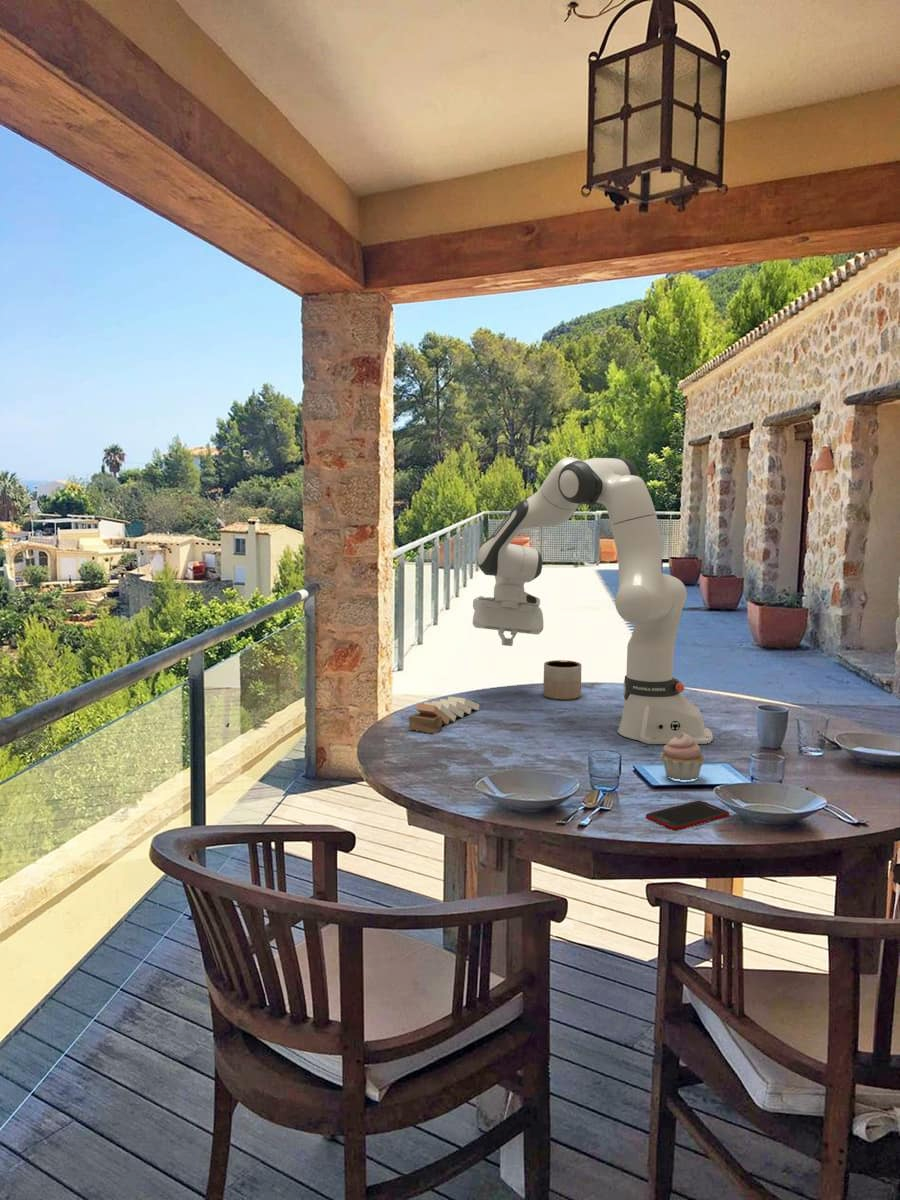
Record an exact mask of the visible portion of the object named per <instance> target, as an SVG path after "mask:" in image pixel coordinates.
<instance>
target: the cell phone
mask: <svg viewBox="0 0 900 1200" xmlns="http://www.w3.org/2000/svg"><path fill="white" fill-rule="evenodd" d="M727 817H730V812H729V810H725V809H724V808H721V807H718V806H716V805H713V804H710V803H708V802H706V801H703V800H695V801H691V802H687V803H684V804H683V803H682V804H679V805H675V806H671V807H668V808H667V807H666V808H664V809H663V808H662V809H659V810H655V811H652V812H649V813H646V814H645V819H646V818H647V820H648V819H649V820H648V821H650V820H651V821H652V822H653V821H654V822H653V823H655V822H658V823H657V824H659V823H660V824H659V825H660V826H662V825H663V826H662V827H664V826H665V827H664V828H666V827H667V828H670V829H669V830H671V829H672V830H671V831H679V830H678V829H681V830H683V828H684V829H687V828H686V827H688V828H690V827H689V826H692V827H694V826H693V825H695V826H698V825H697V824H699V825H701V824H700V823H703V824H705V823H704V822H706V823H708V821H709V822H713V820H714V821H717V820H721V819H724V818H727Z"/></svg>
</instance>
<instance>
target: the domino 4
mask: <svg viewBox="0 0 900 1200" xmlns="http://www.w3.org/2000/svg"><path fill="white" fill-rule="evenodd" d="M439 702H444V703H450V704H452V705H453V706H455V707H457V708H458V709H460V710H462V711H463V712H464V713H465V714H464V715H471V713H472V708H470V707H468V706H466V705H464V704H462V703H460V702H458V701H454V700H448V698H447V699H445V698H439Z"/></svg>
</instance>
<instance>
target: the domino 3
mask: <svg viewBox="0 0 900 1200" xmlns="http://www.w3.org/2000/svg"><path fill="white" fill-rule="evenodd" d="M431 703H438V704H443V705H444V706H445V707H446V708H447V709H448V710H450V711H451V712H452V713H453V714H454V715H456V718H460V717H461V718H462V719H463V718H464V715H465V714H464V712H463V711H462V710H460V709H458V708H457V707H455V706H453V705H452V704H450V703H444V702H440V701H437V700H432V702H431Z"/></svg>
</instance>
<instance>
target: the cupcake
mask: <svg viewBox="0 0 900 1200" xmlns="http://www.w3.org/2000/svg"><path fill="white" fill-rule="evenodd" d="M662 750H663V751H661V752H660V754H661V755H659V757H660V759H661V761H662V763H663V767H664V770H665V771H664V772H665V776H666V775H667V776H668V777H670V778H674V779H680V780H691V779H696V778H698V779H699V775H700V773H701V768H702V767H703V765H704V763H705V761H706V755H703V754H702V749H701V747H700V745H699V744H696V743H695V741H694V740H693V738H692V737H691V736H689V735H687V734H685V733H684V732H681V734H680V736H679V737H675V738H672V739H671V740H670V741H669V743H668V744H664V746H663V748H662ZM667 776H666V777H667Z"/></svg>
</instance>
